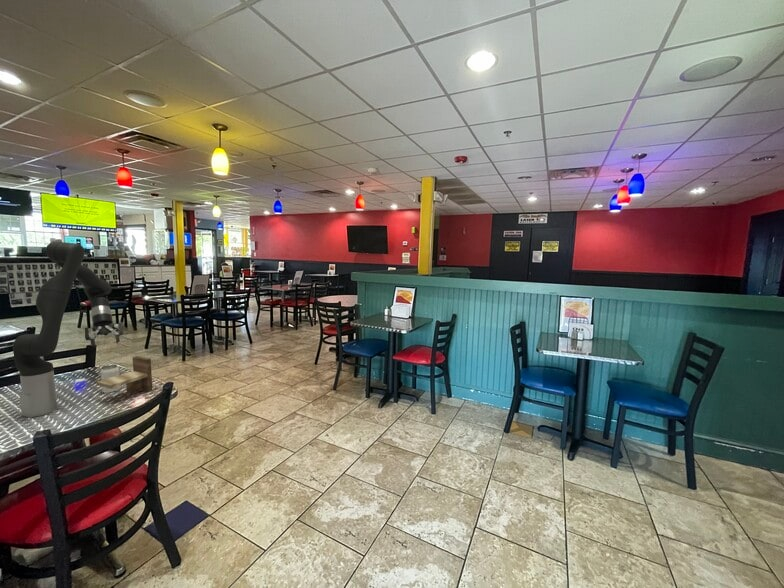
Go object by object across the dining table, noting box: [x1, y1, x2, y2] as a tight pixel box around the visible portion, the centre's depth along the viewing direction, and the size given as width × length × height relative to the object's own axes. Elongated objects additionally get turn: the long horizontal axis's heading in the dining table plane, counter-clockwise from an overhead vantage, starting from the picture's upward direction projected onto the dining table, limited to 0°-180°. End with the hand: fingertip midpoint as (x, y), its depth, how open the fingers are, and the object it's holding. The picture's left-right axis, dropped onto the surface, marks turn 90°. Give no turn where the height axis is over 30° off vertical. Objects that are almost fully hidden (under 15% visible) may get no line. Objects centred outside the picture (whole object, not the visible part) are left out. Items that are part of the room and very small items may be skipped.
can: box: [100, 364, 121, 394], centre depth 153 cm, size 6×6×12 cm
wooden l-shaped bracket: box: [96, 355, 154, 396], centre depth 148 cm, size 17×10×16 cm, turn 161°
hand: (106, 344), depth 157 cm, fingers open, 8 cm apart
